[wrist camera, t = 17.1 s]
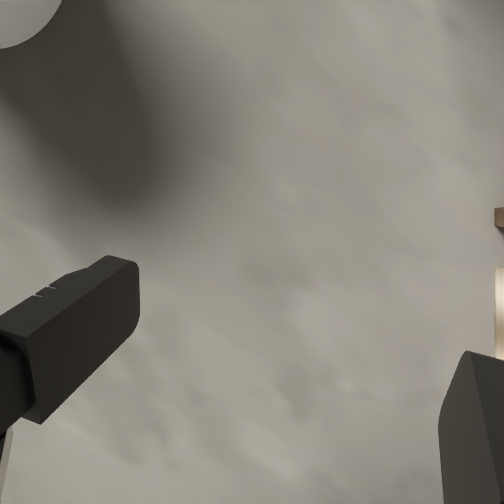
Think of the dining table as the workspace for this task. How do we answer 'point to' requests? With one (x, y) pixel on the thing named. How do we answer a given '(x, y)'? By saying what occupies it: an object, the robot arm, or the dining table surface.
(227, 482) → the dining table surface
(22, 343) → the robot arm
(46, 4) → the canister
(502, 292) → the bay
